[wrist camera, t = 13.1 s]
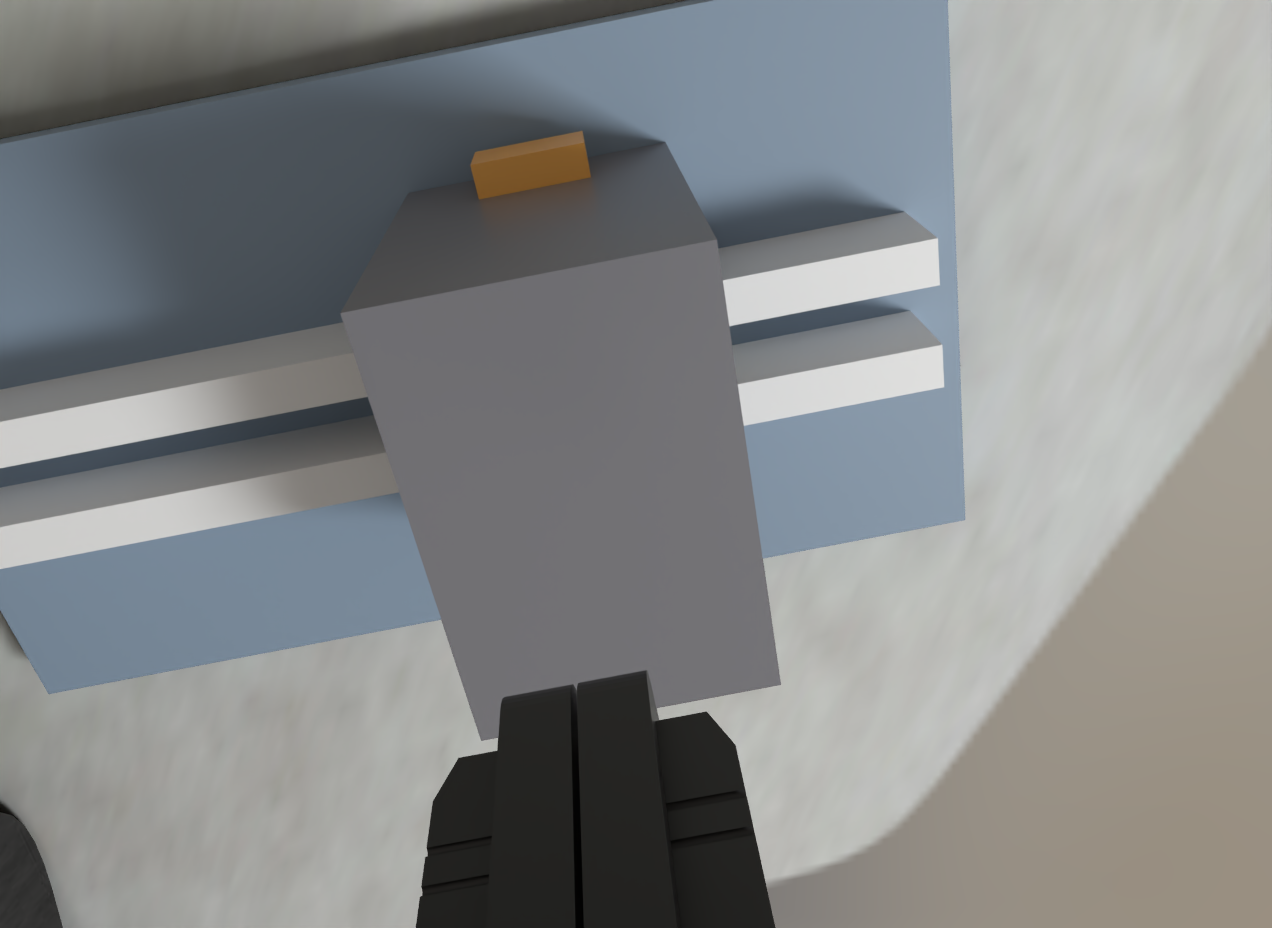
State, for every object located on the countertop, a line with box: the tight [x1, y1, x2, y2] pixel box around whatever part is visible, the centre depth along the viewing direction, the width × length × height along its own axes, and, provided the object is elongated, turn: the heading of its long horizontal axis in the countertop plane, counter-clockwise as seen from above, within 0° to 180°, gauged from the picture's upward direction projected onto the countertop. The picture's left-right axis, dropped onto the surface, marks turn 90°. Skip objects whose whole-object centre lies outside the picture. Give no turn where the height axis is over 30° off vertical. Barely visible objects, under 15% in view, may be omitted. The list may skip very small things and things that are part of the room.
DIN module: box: [340, 131, 781, 741], centre depth 18 cm, size 8×5×7 cm, turn 10°
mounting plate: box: [0, 0, 965, 694], centre depth 21 cm, size 12×22×3 cm, turn 100°
